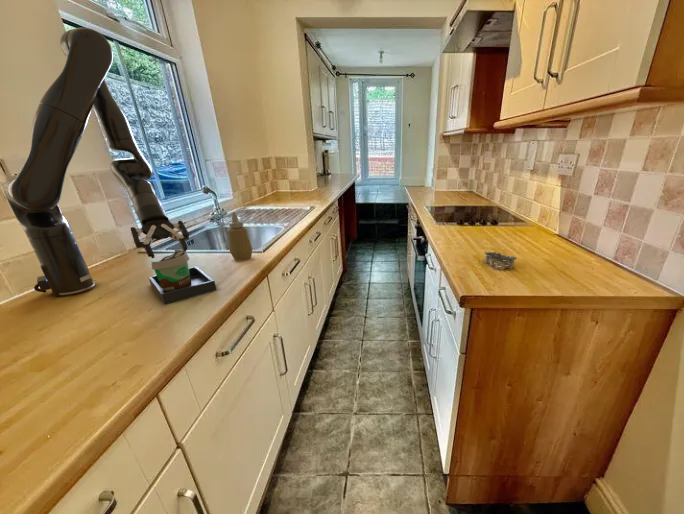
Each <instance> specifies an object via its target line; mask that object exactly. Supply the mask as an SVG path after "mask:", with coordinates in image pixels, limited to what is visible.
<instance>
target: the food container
mask: <svg viewBox="0 0 684 514" xmlns="http://www.w3.org/2000/svg"><path fill="white" fill-rule="evenodd" d="M189 260H190V257H189V256H188V253H187V252H185V251H183V250H182V249H174V253H172V254H169V255H167V256H164V257H163V258H162V259H160V260H157V261H151V270H153V271H154V272H155V275H157V277H158V280H159V282H160V285H161V287H162V290H163V292H164V293H166V292H169V291H173V290H177V289H181V288H185V287H189V286H190V285H191V279H190V273H189V268H190V267H189V263H188V262H189Z"/></svg>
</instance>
